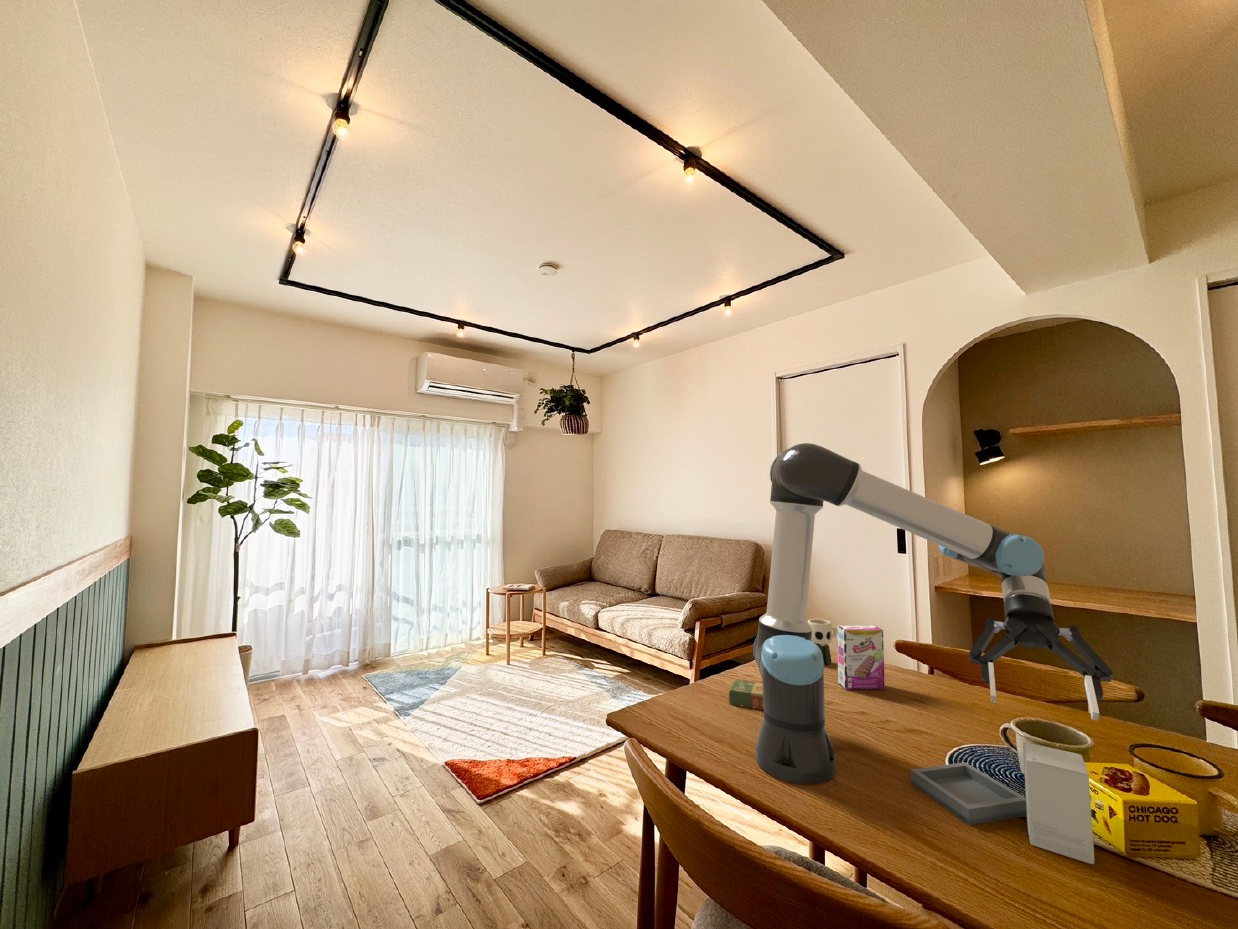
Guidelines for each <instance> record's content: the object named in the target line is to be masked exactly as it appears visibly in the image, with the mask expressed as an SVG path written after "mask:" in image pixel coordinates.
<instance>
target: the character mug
mask: <svg viewBox="0 0 1238 929" xmlns="http://www.w3.org/2000/svg"><path fill="white" fill-rule="evenodd" d="M807 622H808V623H809V625H810V626H811V627H812V637H811V641H812V642H814V643H815V644H816V645H817V646H818V647H819V648H820V650H821V652H822V656H823V661H824V664H826V665H830V664H832V656H831V650H830V646H829V644H831V643H832V641H833V638H837V626H833V625H832V622H831V621H829V620H827V619H821V618H811V619H808V620H807Z"/></svg>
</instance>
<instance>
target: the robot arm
mask: <svg viewBox="0 0 1238 929" xmlns="http://www.w3.org/2000/svg"><path fill="white" fill-rule="evenodd" d="M769 478H770V481H771V482H770V483H771V486H770V498H769V502H770V505H772V506H773V508H774V509H775V517H774V518H775V519H774V528H773V540H772V551H771V552H772V553H771V562H770V570H769V571H770V572H769V583H768V593H767V604H766V605H767V606H766V612H765V613H764V614H763V615H761V616H760V617H759V619H758V628H757V635H756V637H755V640H754V643H753V656H754V660H755V663H756V665H757V667H758V670H759V673H760V677H761V679H762V682H761V683H763V709H764V710H763V720H762V723H761V727H760V731H759V733H758V737H757V740H756V744H755V761H756V763H757V765H758V766H759V767H760V769H761V770H763V771H764V772H766V773H767V774H768V775H770V776H772V777H775V778H777V779H780V780H782V781H785V782H789V783H793V784H799V785H800V784H801V785H816V784H817V785H818V784H823V783H826V782H828V781H831V780H832V779H833V778H834V777H835V775H836V774H837V758H836V754H835V751H834V749H833V746H832V743H831V740H830V737H829V734H828V732H827V728H826V714H825V713H826V710H825V708H826V706H825V681H824V680H825V677H824V675H825V673H824V671H825V663H824V661H823V656H822V652H821V650H820V648H819V647H818V646H817V645H816V644H815V643H814V642H812V641H811V637H812V627H811V626H810V625H809V623H808V620H807V619H806V618H807V608H808V596H809V586H810V576H811V575H810V574H811V567H812V566H811V564H812V553H813V541H814V532H815V530H814V529H815V518H816V515H817V513H819V512H820V511H822V510H823V509H824V502H826V503H830V504H832V505H834V506H836V507H841V506H844V505H847V506H848V507H850V508H853V509H856V510H857V511H860V512H862V513H864V514H867V515H870V516H871V517H874V518H876V519H878V520H881V521H882V522H885V523H888V524H889V525H892V526H894V527H896V528H900V529H902V530H904V531H906V532H908V533H911V534H913V535H916V536H918V537H919V538H922V539H925V540H927V541H929V542H931V543H934V544H936V545H938V549H939V552H940V553H941V554H942V555H945V556H947V557H949V558H952V560H954V561H955V560H957V561H960V562H962V563H965V564H968V565H970V566H973V567H976V568H978V569H981V570H984V571H987V572H989V573H991V574H995V575H997V576H999V577H1000V582H1001V583H1000V584H1001V591H1002V592H1001V593H1002V599H1003V608H1004V617H1005V618H1004V619H1005V620H1004V621H1003V622H1002V621H995V619H994V618H993V617H987V618H986V626H985V628H984V629H983V631H982V633H981V634H980V635H979V637H978V639H977V640H976V641H975V643H974V645H973V646H972V647H971V648H970V650H969V652H968V657H969V658H968V660H969V662H970V663H971V664H976V665H979V667H980V669H981V670H980V672H981V680H982V682H983V683H985V684H986V683H987V684H989V688H990V689H989V690H990V702H991V703H994V704H997V694H996V693H997V691H996V680H995V678H996V677H995V670H994V663H995V662H997V661H998V660H999V659H1001V658H1002V657H1003V656H1004V655H1005V654H1006V653H1008V652H1009V651H1010V650H1014V649H1015V647H1017V646H1018V645H1020V646H1021V647H1022V648H1025V649H1026V648H1028V649H1029V648H1034V649H1038V650H1045V649H1048V650H1049V651H1050V652H1052V653H1053V654H1054V655H1055V654H1056V655H1057V656H1058V657H1059V658H1061V660H1063V661H1064V662H1066V663H1067V664H1068V665H1069V666H1070V667H1072V668H1073V669H1074V670H1075V671H1076V672H1078V673H1079V674H1080V675H1081V676H1083V678H1084V688H1085V693H1086V698H1087V703H1088V708H1089V711H1090V718H1091V720H1092V721H1099V718H1100V711H1099V705H1098V701H1103V698H1104V691H1103V686H1102V682H1106V683H1111V682H1112V680H1113V674H1114V672H1113V670H1112V669H1111V668H1110V667H1109V665H1107V664H1106V662H1105V661H1104V660H1103V659H1102V658H1101V657H1100V656H1099V655H1098V654H1097V652H1096V651H1095V650H1094V649H1093V648H1092V647H1091V646H1090V645H1089V643H1088V642H1087V641H1086V640H1085V639H1084V638H1083V637H1082V635H1081V632H1080V630H1079V628H1078V626H1076V625H1073V624H1072V625H1070V626H1069V628H1068V627H1059V626H1058V625H1057V624H1056V622H1055V617H1054V611H1053V606H1052V600H1051V594H1050V589H1049V586H1048V579H1047V573H1046V566H1045V551H1044V550H1043V548H1042V546H1041V545H1040V543H1038V542H1037V541H1036V540H1035V539H1033V538H1031V537H1029V536H1027V535H1022V534H1019V533H1017V534H1016V533H1011V532H1008V531H1006V530H1004V529H1000V528H999V527H996V526H993V525H990V524H988V523H987V522H984V521H982V520H980V519H977V518H975V517H973V516H970V515H969V514H968V515H967V514H965V513H963V512H960V511H959V510H956V509H954V508H952V507H949V506H947V505H945V504H943V503H940V502H937V501H935V500H932V499H930V498H928V497H926V496H923V495H921V494H918V493H916V492H913V491H911V490H909V489H907V488H905V487H902V486H900V485H897V484H895V483H893V482H890V481H887V480H885V479H883V478H881V477H879V476H876V475H875V474H874V475H873V474H871V473H868V472H866V471H865V470H863V469H862V466H861V463H858V462H856V461H853V460H851V459H849V458H846V457H845V456H843V455H841V454H838V453H836V452H834V451H832V450H830V449H828V448H826V447H823V446H822V445H818V444H815V443H809V442H808V443H807V442H805V443H798V444H796V445H793V446H792V447H790V448H787V449H785V450H783V451H782V452H780V453H779V454H778V455H777V456H775V458H774V460H773V462H772V463H771V466H770V470H769ZM1000 630H1003V631H1004V632H1005V633H1006V634H1005V637H1003V639H1001V640H999V642H997V643H996V644H995V645H993V646H992V647H991V648H990V649H988V651H986V652H985V650H986V649H987V648H988V645H989V644H990V643H991V641H992V639H993V638H994V636H995V634H998V633H999V632H1000ZM1060 636H1062V637H1064V638H1065V639H1066V640H1067V641H1068V642H1071V644H1072V645H1073V647H1074V648H1075V650H1076V651H1078V652H1079V654H1080V656H1082V657H1083V658H1081V657H1080V656H1079V655H1078V654H1076V653H1075V652H1073V651H1072V650H1071V649H1070V648H1068V647H1067V646H1066V645H1065V644H1064V643H1063V642H1062V640H1060V638H1059V637H1060ZM983 653H984V654H983ZM1097 700H1098V701H1097Z"/></svg>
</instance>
